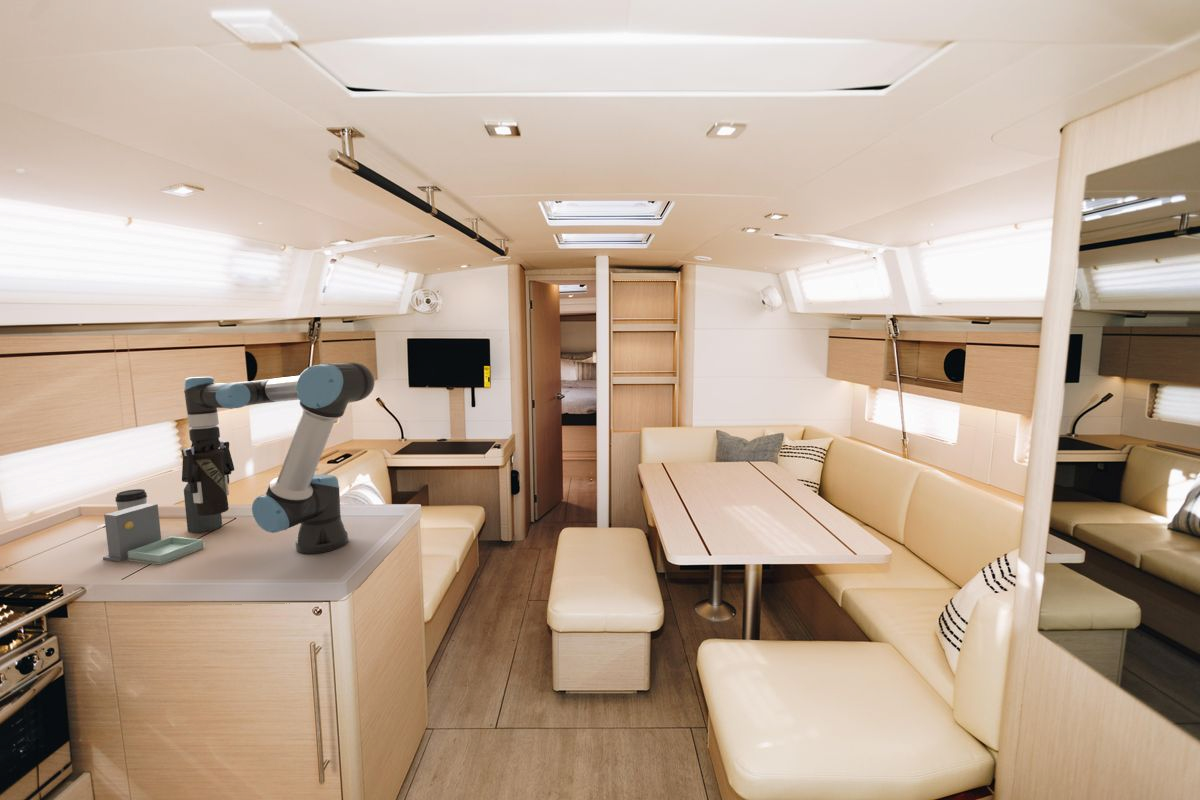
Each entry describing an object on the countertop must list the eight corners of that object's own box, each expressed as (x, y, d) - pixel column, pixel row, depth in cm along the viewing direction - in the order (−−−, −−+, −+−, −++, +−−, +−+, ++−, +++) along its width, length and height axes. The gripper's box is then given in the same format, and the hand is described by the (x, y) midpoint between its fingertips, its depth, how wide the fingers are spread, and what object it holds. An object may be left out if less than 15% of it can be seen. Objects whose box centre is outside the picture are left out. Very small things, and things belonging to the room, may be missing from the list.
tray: (203, 548, 173) (202, 539, 173) (161, 564, 161) (160, 555, 160) (172, 544, 177) (171, 536, 176) (128, 560, 164) (127, 551, 164)
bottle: (181, 531, 189) (172, 447, 186) (209, 522, 198) (202, 442, 195) (200, 535, 185) (192, 449, 182) (229, 525, 194) (221, 444, 191)
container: (212, 517, 163) (205, 452, 161) (188, 515, 165) (180, 452, 163) (236, 508, 172) (230, 446, 170) (213, 507, 174) (206, 446, 171)
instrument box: (167, 544, 177) (163, 503, 175) (119, 561, 163) (114, 517, 162) (151, 542, 178) (147, 501, 177) (103, 559, 165) (98, 515, 163)
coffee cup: (154, 532, 188) (150, 490, 186) (124, 540, 181) (119, 496, 180) (145, 528, 193) (141, 487, 191) (115, 535, 186) (110, 493, 184)
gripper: (225, 421, 177) (232, 489, 179) (159, 432, 157) (168, 508, 159) (243, 422, 175) (250, 490, 177) (179, 432, 155) (188, 509, 157)
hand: (211, 498), depth 168 cm, fingers closed on container, 8 cm apart
